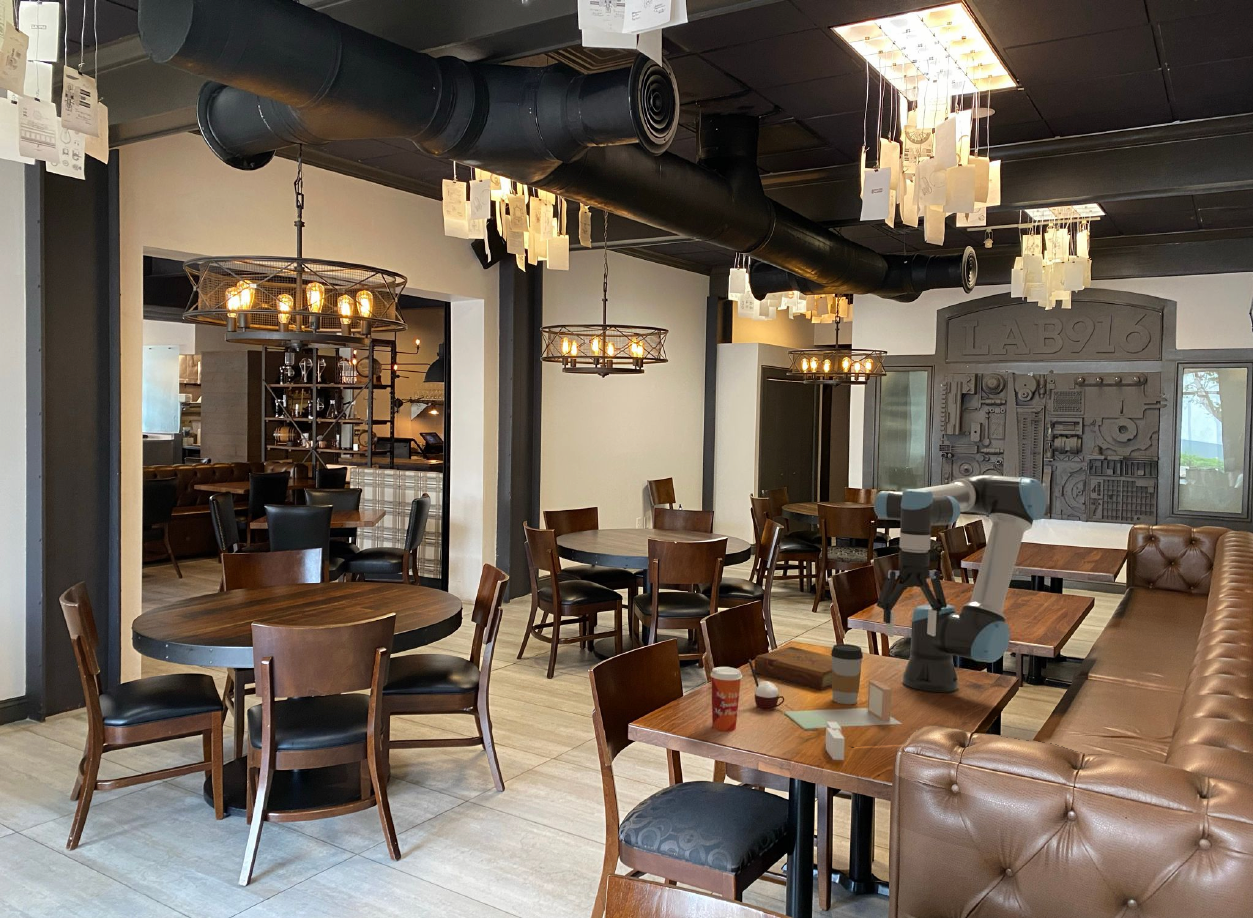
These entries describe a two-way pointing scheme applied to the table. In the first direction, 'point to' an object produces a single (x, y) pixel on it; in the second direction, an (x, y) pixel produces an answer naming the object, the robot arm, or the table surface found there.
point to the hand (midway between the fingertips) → (910, 635)
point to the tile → (879, 700)
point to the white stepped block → (834, 741)
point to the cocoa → (765, 693)
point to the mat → (836, 718)
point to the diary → (797, 667)
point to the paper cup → (725, 697)
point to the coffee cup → (846, 673)
